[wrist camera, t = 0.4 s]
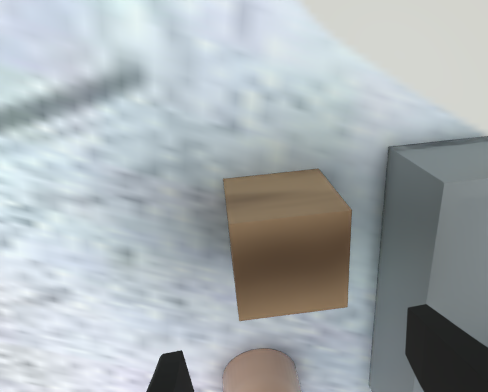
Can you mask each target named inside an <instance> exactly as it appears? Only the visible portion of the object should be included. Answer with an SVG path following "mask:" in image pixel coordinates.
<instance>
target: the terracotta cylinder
mask: <svg viewBox="0 0 488 392" xmlns="http://www.w3.org/2000/svg"><path fill="white" fill-rule="evenodd" d="M222 379H223V392H302V390H301V386H300V383H299V379H298V375H297V371H296V368H295V365H294V363H293V361H292V360H291V358H289V357H288V356H287V355H286V354H284V353H282V352H280V351H277V350H273V349H254V350H250V351H247V352H244V353H242V354H240V355H238V356H237V357H235V358H234V359H233V360H231V361H230V363H229V364H228V365H227V366H226V368H225V370H224V373H223V377H222Z"/></svg>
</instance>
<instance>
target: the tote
mask: <svg viewBox="0 0 488 392" xmlns="http://www.w3.org/2000/svg"><path fill="white" fill-rule="evenodd" d="M424 304H427V305H428V306H430V307H431V308H433V309H434V310H435V311H437V312H438V313H440V314H441V315H442V316H444V317H445V318H447V319H448V320H449V321H451V322H452V323H454V324H455V325H456V326H458V327H459V328H461V329H462V330H463V331H465V332H466V333H468V334H469V335H470V336H472V337H473V338H475V339H476V340H478V341H479V342H481V343H482V344H484V345H485V346H486V347H488V136H487V137H478V138H468V139H459V140H449V141H440V142H431V143H421V144H412V145H402V146H393V147H389V150H388V162H387V174H386V186H385V198H384V210H383V222H382V234H381V246H380V258H379V270H378V282H377V294H376V306H375V318H374V330H373V342H372V354H371V366H370V378H369V386H370V389H371V391H372V392H424V391H423V389H422V388H421V386H420V384H419V382H418V380H417V378H416V376H415V374H414V372H413V370H412V368H411V366H410V363H409V361H408V359H407V357H406V355H405V346H406V327H407V309H408V307H413V306H418V305H424Z"/></svg>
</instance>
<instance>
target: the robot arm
mask: <svg viewBox="0 0 488 392" xmlns="http://www.w3.org/2000/svg"><path fill="white" fill-rule="evenodd" d="M405 355H406V357H407V359H408V361H409V363H410V366H411V368H412V370H413V372H414V374H415V376H416V378H417V380H418V382H419V384H420V386H421V388H422V389H423V391H424V392H488V347H486V346H485V345H484V344H482V343H481V342H479V341H478V340H476V339H475V338H473V337H472V336H470V335H469V334H468V333H466V332H465V331H463V330H462V329H461V328H459V327H458V326H456V325H455V324H454V323H452V322H451V321H449V320H448V319H447V318H445V317H444V316H442V315H441V314H440V313H438V312H437V311H435V310H434V309H433V308H431V307H430V306H428V305H427V304H424V305H418V306H413V307H408V309H407V327H406V346H405ZM146 392H194V389H193V386H192V382H191V379H190V376H189V372H188V369H187V365H186V362H185V359H184V355H183V352H182V350H181V351H176V352H171V353H165V354H162V355H161V357H160V358H159V361H158V364H157V367H156V369H155V372H154V374H153V377H152V379H151V382H150V384H149V387H148V389H147V391H146Z"/></svg>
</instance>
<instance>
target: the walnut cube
mask: <svg viewBox="0 0 488 392" xmlns="http://www.w3.org/2000/svg"><path fill="white" fill-rule="evenodd" d="M223 181H224V190H225V200H226V209H227V218H228V228H229V237H230V246H231V255H232V264H233V273H234V281H235V289H236V298H237V306H238V314H239V321H244V320H251V319H259V318H267V317H275V316H282V315H290V314H298V313H306V312H313V311H321V310H329V309H337V308H345V307H347V304H348V282H349V260H350V239H351V217H352V210H351V209H350V207H349V206H348V205H347V204H346V202H345V201H344V200H343V199H342V197H341V196H340V195H339V194H338V192H337V191H336V190H335V189H334V187H333V186H332V185H331V184H330V182H329V181H328V180H327V179H326V177H325V176H324V175H323V174H322V172H321V171H320V170H319V169H311V170H301V171H292V172H283V173H273V174H264V175H255V176H246V177H236V178H227V179H223Z"/></svg>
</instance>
